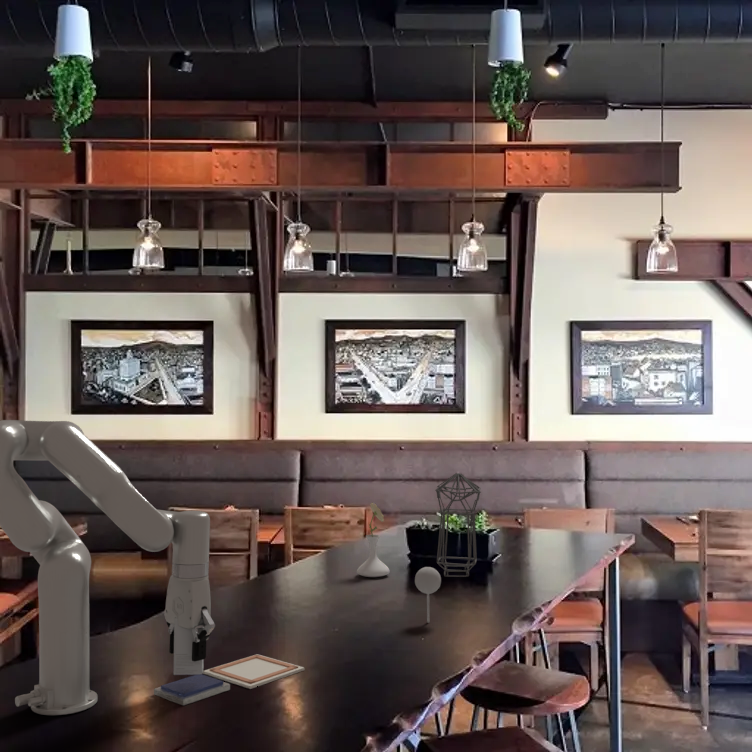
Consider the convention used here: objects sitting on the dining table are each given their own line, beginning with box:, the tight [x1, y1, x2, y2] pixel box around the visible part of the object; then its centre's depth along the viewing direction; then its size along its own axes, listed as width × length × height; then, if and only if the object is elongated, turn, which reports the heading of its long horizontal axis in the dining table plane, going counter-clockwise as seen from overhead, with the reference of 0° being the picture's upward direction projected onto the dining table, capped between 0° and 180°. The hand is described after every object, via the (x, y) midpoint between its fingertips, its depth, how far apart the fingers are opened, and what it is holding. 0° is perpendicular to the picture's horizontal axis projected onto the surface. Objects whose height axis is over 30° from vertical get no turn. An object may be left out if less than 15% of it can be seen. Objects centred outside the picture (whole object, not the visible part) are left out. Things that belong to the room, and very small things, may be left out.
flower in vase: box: [356, 502, 390, 578], centre depth 295 cm, size 13×11×25 cm
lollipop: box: [414, 566, 442, 624], centre depth 233 cm, size 7×7×15 cm
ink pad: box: [153, 673, 231, 706], centre depth 179 cm, size 12×10×2 cm
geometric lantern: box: [435, 472, 482, 578], centre depth 296 cm, size 16×16×35 cm
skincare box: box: [172, 617, 205, 676], centre depth 180 cm, size 6×4×12 cm
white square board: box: [202, 653, 306, 690], centre depth 192 cm, size 16×16×1 cm
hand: (187, 655), depth 179 cm, fingers closed on skincare box, 6 cm apart
